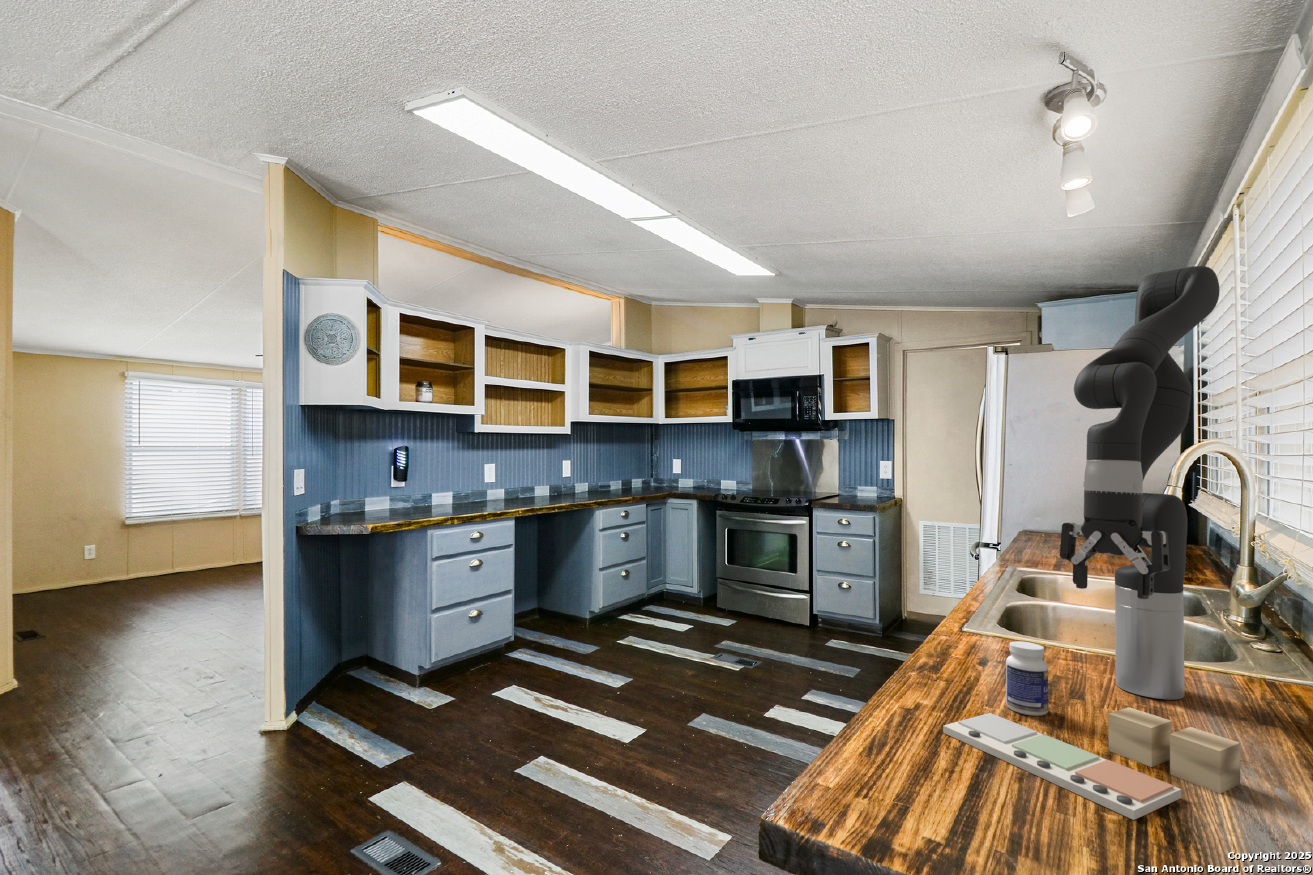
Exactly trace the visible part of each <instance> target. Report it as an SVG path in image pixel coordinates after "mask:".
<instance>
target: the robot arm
mask: <svg viewBox="0 0 1313 875" xmlns="http://www.w3.org/2000/svg"><path fill="white" fill-rule="evenodd" d="M1220 291H1221V290H1220V283H1219V277H1218V276H1217V274H1216V272H1215V271H1214V269H1212V268H1211V267H1208V266H1206V265H1196V266H1195V265H1194V266H1186V267H1181V268H1175V269H1170V270H1165V271H1161V272H1155V273H1151V274H1148V275H1146V276H1145V277H1143V278H1142V279H1141V281H1140V283H1139V284H1138V288H1137V293H1136V298H1135V313H1134V325H1132V326H1130V327H1129V328H1128V329H1127V330H1126V331H1125V332H1124V333H1123V334H1122V335H1121V337H1120V338H1119V339H1118V340H1117V341H1116V343H1115V344H1114V346H1112V348H1111V349H1110V350H1108V351H1106V352H1104V353H1103V354H1101V355H1100V356H1098V357H1097V358H1095V359H1093V360H1092V361H1090V362H1089V363H1087V365H1085V366H1083V368H1082V369H1081V370H1080V372H1079V373H1078V374H1077V376H1076V378H1075V382H1074V386H1073V393H1074V394H1073V395H1074V397H1075V399H1076V401H1077V402H1078V403H1079V404H1080V405H1081V406H1083V407H1084V408H1087V409H1090V410H1107V409H1120V410H1119V412H1118V413H1117V416H1116V417H1115V418H1113V419H1111V420H1109V421H1106V422H1101V423H1097V424H1093V425H1091V426H1090V427H1089V428H1088V430H1087V434H1086V460H1085V461H1086V464H1085V469H1084V475H1083V476H1084V479H1083V480H1084V481H1083V518H1084V520H1083V523H1082V524H1077V523H1075V522H1064V523H1062V524H1061V533H1060V545H1059V546H1060V547H1059V558H1061V559H1062V560H1066V561H1069V562H1070V563H1071V564H1072V582H1073V585H1075V587H1076V589H1080V590H1085V589H1087V588H1088V574H1089V572H1088V568H1089V567H1088V565H1087V564H1086V563H1087V562H1088V561H1089V560H1090V559H1091V557H1093V556H1094V555H1096V554H1111V555H1114V556H1119V557H1121V556H1125V557H1126V558H1127V559H1128V561H1130V562H1131V563H1132V564H1130V565H1129V564H1128V565H1123V566H1120V567H1117V568H1116V569H1115V571H1114V609H1115V610H1114V616H1115V618H1114V624H1115V626H1114V628H1115V629H1114V632H1115V633H1114V637H1115V640H1114V641H1115V643H1114V644H1115V661H1114V662H1115V664H1114V665H1115V684H1116V686H1117V687H1118V688H1120V689H1122V690H1123V691H1126V692H1129V693H1131V694H1135V695H1138V696H1143V697H1147V698H1152V699H1158V700H1181V699H1183V698H1185V620H1184V619H1185V616H1184V615H1185V613H1184V611H1185V610H1184V581H1185V574H1186V565H1187V562H1186V560H1187V559H1186V558H1187V554H1186V553H1187V540H1188V539H1187V538H1188V514H1187V509H1186V506H1185V503H1184V502H1183V500H1182V499H1181V498H1180V497H1179V496H1177V495H1174V494H1167V493H1153V492H1152V493H1151V492H1148V493H1147V492H1143V489H1144V488H1143V486H1144V484H1143V483H1144V480H1145V478H1146V476H1147V473H1148V471H1149V470H1150V468H1151V467H1152V465H1153V464H1154V463H1155V461H1157V459H1158V458H1159V457H1160V456H1161V455H1163V453H1164V452H1165V451H1166V450H1168V448H1169V447H1170V446H1171V445H1172V444H1173V443H1174V442H1175V441H1176V439H1177V438H1178V437H1179V436H1180V435H1182V433H1183V431H1184V429H1185V428H1186V426H1187V424H1188V421H1189V415H1190V408H1191V401H1192V394H1193V393H1192V385H1191V382H1190V380H1189V378H1188V377H1187V375H1186V374H1185V372H1184V371H1183V370H1182V368H1181V367H1180V366H1179V364H1178V363H1177V362H1176V361H1175V359H1174V358H1173V357H1172V356H1171V354H1170V353H1169V352H1170V351H1171V349H1172V348H1173V347H1174V346H1175V345H1176V344H1177V343H1178V342H1179V341H1180V340H1181V339H1183V337H1185V336H1186V335H1187V334H1188V333H1189V332H1191V331H1192V330H1193V329H1194V328H1195V327H1197V326H1198V325H1199V324H1200V323H1201V322H1202V321H1204V320H1205V319H1206V318H1207V317H1208V316H1209V315H1210V314H1212V312H1213V311H1214V309H1215V308H1216V307H1217V304H1218V302H1219V299H1220V298H1219V297H1220ZM1080 533H1082V535H1083V537H1084V538H1085V539H1086V541H1085V542H1084V543H1083V544H1081V546H1080V547H1079V548H1078V551H1076V547H1077V546H1076V545H1077V537H1079V536H1080ZM1142 547H1143V548H1149V549H1151V550H1150V555H1149V558H1148V556H1147V554H1146V553H1145V551H1144V550H1143V549H1142Z"/></svg>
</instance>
